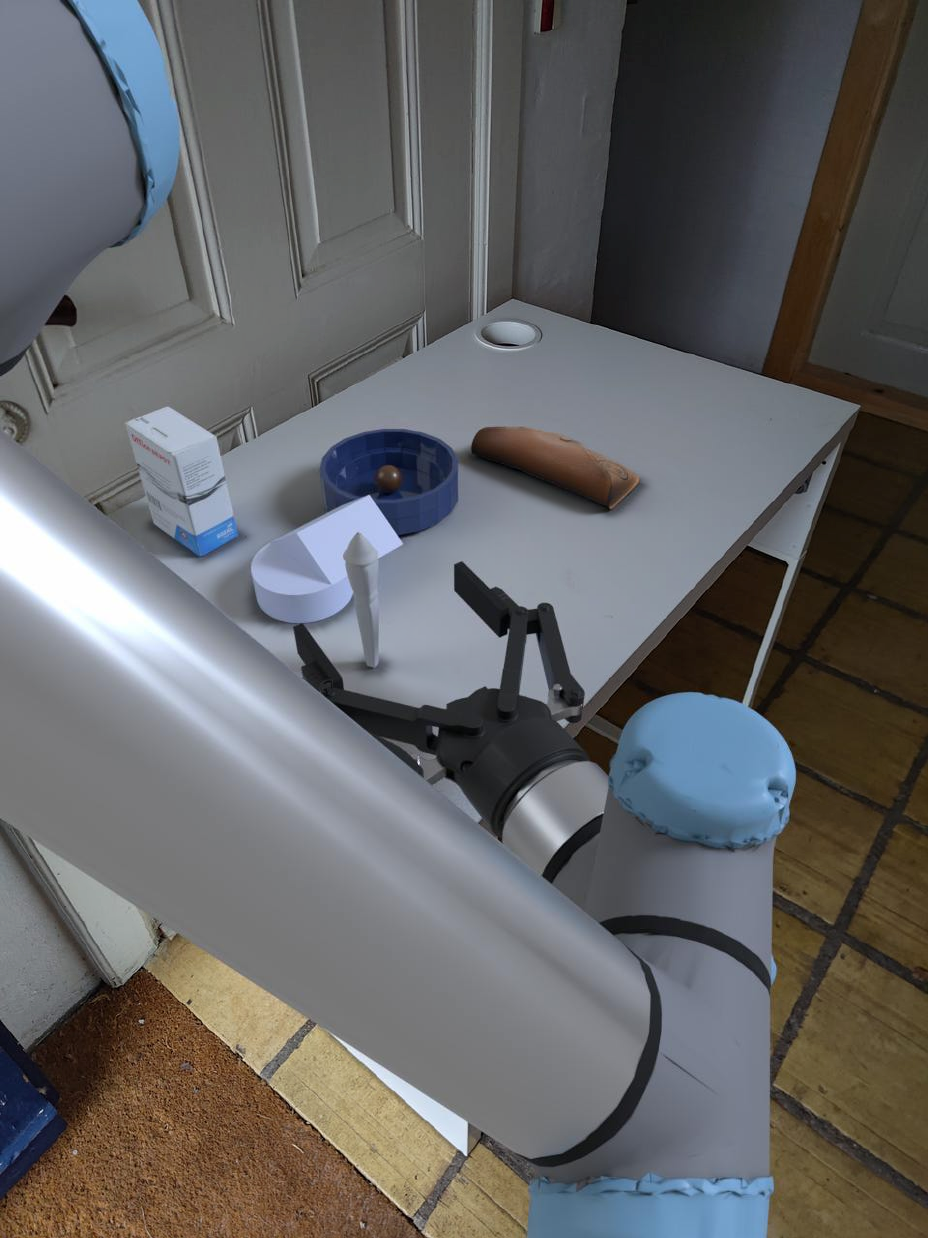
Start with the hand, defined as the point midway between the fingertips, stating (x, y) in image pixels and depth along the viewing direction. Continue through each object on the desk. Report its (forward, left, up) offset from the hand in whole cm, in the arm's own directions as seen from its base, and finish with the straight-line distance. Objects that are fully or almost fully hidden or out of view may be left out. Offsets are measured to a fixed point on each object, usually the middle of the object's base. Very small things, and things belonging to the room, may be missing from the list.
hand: (382, 605), depth 66 cm
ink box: (-21, +22, -9) cm, 32 cm away
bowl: (-1, +27, -9) cm, 29 cm away
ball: (-2, +28, -7) cm, 29 cm away
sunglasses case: (+16, +33, -9) cm, 38 cm away
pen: (-2, +3, -9) cm, 10 cm away
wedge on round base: (-7, +14, -9) cm, 18 cm away
